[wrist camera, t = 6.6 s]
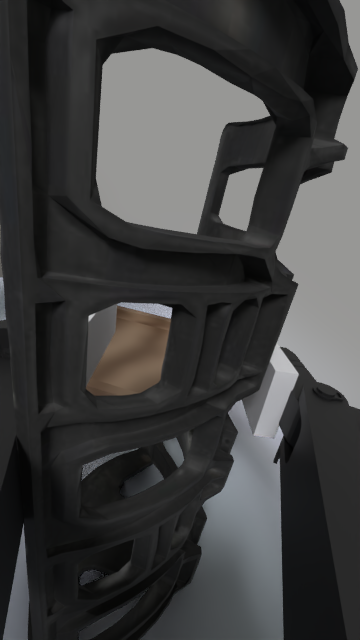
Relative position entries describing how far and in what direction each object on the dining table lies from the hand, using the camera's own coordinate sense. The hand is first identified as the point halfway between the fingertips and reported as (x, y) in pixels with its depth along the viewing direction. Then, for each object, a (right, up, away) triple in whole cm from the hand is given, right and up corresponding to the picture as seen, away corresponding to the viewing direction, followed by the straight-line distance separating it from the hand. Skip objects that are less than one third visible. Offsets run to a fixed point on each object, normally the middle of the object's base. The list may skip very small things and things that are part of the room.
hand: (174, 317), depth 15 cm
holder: (-2, -12, 0) cm, 12 cm away
